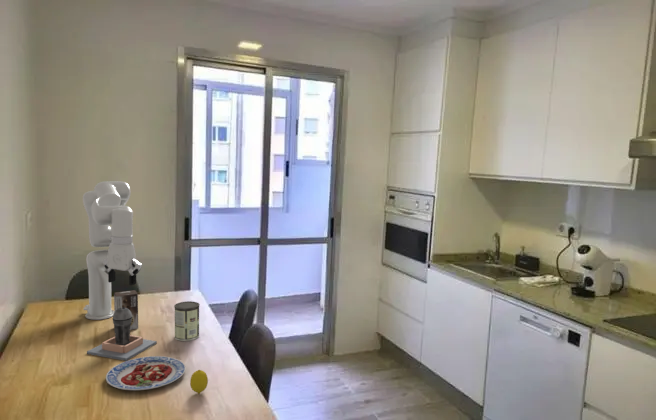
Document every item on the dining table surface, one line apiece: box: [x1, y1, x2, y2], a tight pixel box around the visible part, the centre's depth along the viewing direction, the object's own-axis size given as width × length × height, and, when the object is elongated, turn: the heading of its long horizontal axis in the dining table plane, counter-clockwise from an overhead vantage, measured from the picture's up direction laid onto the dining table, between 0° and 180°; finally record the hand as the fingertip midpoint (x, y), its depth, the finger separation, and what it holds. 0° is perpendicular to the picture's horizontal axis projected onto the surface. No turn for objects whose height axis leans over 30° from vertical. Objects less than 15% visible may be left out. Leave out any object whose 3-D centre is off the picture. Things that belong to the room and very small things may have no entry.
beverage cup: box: [112, 298, 132, 346], centre depth 183 cm, size 7×7×20 cm
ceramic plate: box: [105, 355, 186, 391], centre depth 162 cm, size 26×26×3 cm
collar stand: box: [86, 334, 157, 362], centre depth 184 cm, size 18×18×4 cm
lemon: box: [189, 369, 209, 394], centre depth 151 cm, size 6×6×8 cm
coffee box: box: [113, 289, 139, 331], centre depth 206 cm, size 9×6×16 cm
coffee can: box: [173, 300, 200, 342], centre depth 199 cm, size 10×10×14 cm
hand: (122, 283), depth 182 cm, fingers open, 9 cm apart
